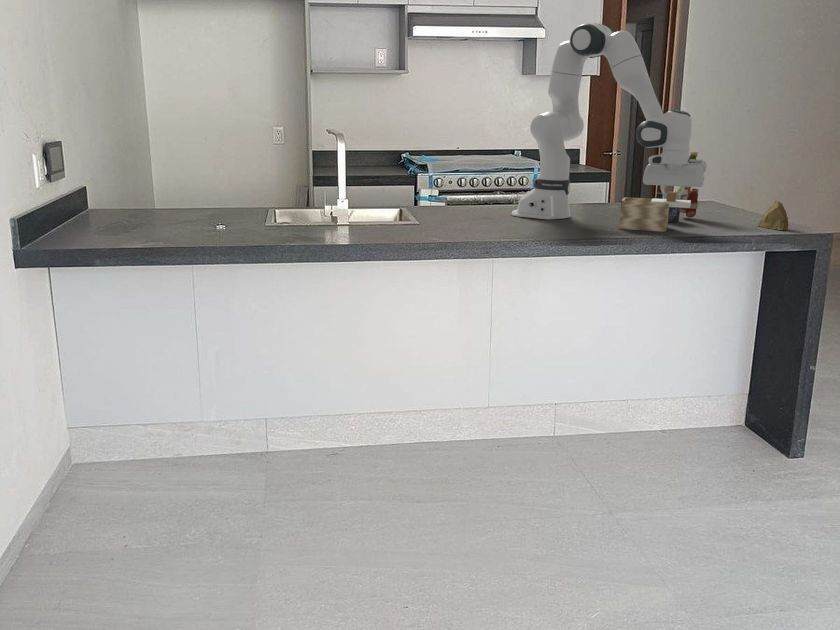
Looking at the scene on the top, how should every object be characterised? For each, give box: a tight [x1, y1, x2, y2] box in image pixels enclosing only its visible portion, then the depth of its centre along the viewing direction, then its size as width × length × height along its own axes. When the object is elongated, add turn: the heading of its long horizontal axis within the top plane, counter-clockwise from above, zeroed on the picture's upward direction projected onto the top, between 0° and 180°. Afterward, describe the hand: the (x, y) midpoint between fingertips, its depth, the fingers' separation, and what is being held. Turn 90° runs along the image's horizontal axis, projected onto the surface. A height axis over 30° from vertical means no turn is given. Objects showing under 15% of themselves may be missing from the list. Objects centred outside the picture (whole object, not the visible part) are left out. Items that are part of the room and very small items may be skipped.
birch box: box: [618, 197, 669, 233], centre depth 282 cm, size 16×10×10 cm, turn 71°
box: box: [655, 191, 682, 223], centre depth 297 cm, size 8×6×11 cm
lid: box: [651, 191, 691, 208], centre depth 278 cm, size 13×8×5 cm, turn 71°
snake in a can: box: [676, 151, 700, 218], centre depth 301 cm, size 12×10×25 cm
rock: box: [757, 199, 789, 231], centre depth 285 cm, size 11×9×10 cm
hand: (671, 198), depth 278 cm, fingers closed on lid, 3 cm apart
